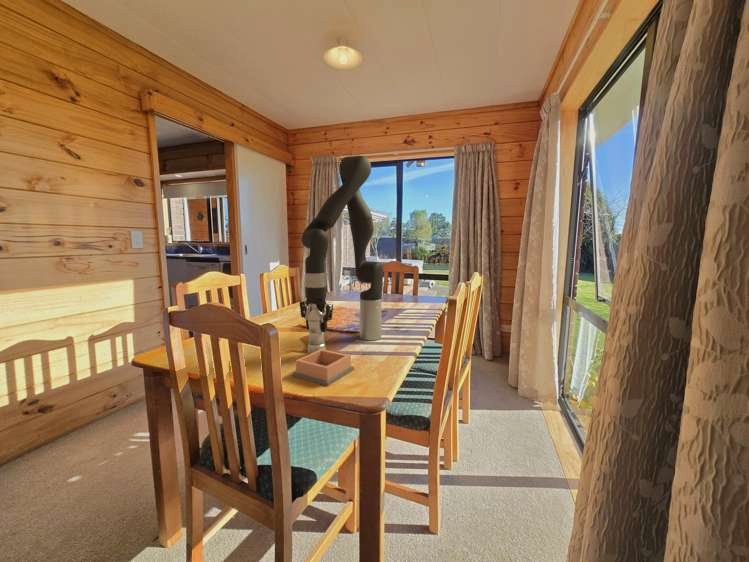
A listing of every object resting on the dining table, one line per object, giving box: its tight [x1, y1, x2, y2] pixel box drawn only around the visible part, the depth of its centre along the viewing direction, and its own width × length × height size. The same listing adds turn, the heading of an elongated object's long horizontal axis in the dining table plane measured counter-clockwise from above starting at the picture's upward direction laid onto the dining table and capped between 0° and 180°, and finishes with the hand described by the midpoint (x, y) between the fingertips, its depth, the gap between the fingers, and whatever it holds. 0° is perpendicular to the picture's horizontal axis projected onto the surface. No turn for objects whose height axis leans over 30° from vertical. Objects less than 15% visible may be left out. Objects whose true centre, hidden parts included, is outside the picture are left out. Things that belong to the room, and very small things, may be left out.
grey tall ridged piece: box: [307, 303, 327, 355], centre depth 121 cm, size 6×7×20 cm
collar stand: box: [292, 349, 355, 387], centre depth 107 cm, size 14×14×5 cm
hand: (316, 330), depth 121 cm, fingers closed on grey tall ridged piece, 6 cm apart
